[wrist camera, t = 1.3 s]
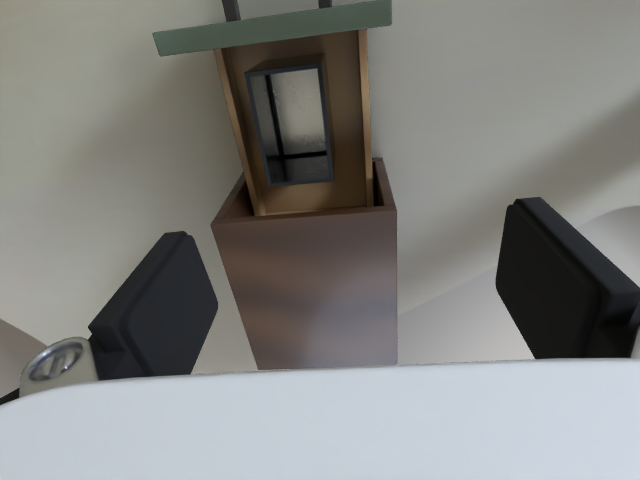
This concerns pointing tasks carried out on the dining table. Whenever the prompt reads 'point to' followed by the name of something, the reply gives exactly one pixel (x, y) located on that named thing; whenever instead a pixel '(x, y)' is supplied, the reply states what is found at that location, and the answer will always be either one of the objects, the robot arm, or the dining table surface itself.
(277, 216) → the cabinet
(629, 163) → the dining table surface
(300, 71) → the dark glass display case
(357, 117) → the drawer
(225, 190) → the dining table surface
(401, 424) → the robot arm
